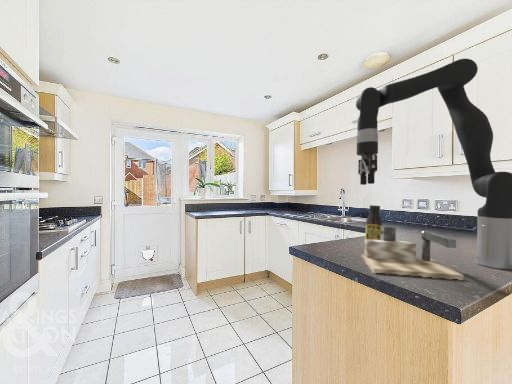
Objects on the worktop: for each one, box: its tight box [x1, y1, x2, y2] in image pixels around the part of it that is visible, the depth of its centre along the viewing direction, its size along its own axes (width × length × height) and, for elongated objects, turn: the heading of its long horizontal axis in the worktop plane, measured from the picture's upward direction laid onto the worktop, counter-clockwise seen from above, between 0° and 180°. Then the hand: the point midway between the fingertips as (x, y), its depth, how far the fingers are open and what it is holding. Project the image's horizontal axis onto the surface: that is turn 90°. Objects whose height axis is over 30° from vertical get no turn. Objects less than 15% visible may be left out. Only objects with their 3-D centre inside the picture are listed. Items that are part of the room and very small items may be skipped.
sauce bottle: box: [364, 204, 383, 240], centre depth 104 cm, size 6×6×20 cm
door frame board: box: [360, 226, 464, 281], centre depth 80 cm, size 24×18×12 cm
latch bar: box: [420, 230, 457, 249], centre depth 78 cm, size 16×3×2 cm, turn 168°
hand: (367, 184), depth 92 cm, fingers open, 8 cm apart
